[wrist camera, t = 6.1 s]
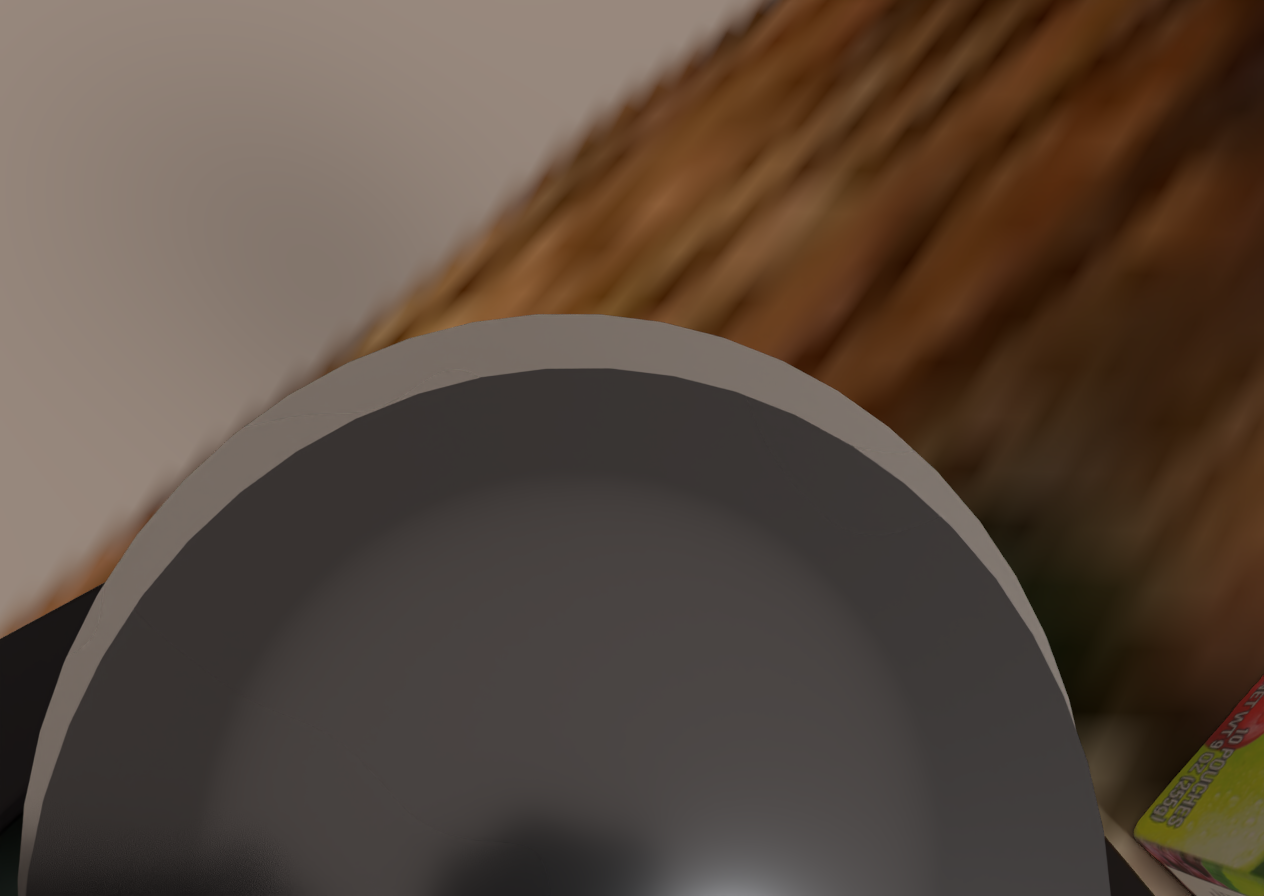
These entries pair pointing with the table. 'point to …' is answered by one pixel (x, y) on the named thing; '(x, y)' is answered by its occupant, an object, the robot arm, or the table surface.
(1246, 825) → the snack box
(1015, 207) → the table surface
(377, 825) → the bottle
